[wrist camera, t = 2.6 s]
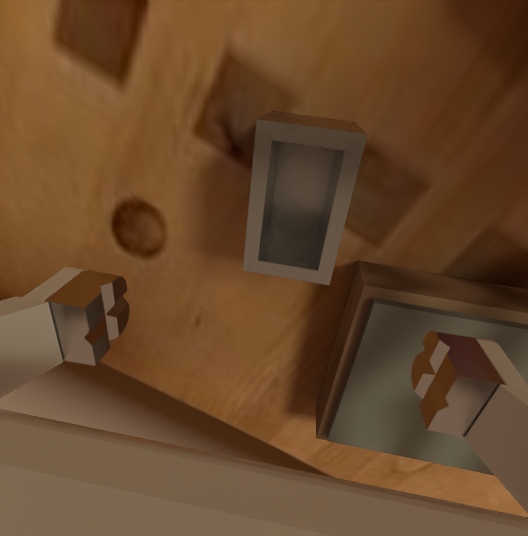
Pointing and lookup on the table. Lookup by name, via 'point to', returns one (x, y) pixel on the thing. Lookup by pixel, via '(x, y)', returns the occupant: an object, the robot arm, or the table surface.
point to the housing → (300, 194)
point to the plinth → (409, 357)
